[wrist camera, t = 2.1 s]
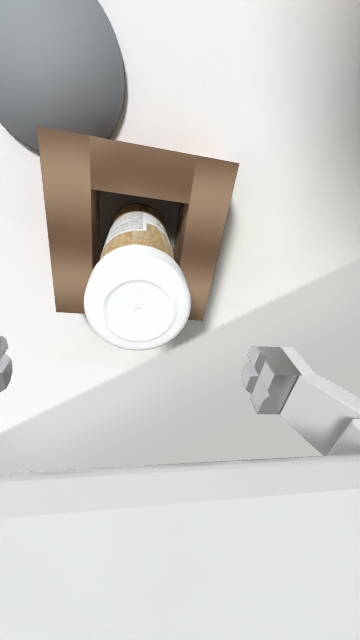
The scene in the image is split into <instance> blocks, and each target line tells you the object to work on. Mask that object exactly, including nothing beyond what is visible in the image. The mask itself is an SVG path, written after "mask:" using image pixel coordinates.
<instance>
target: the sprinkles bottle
mask: <svg viewBox="0 0 360 640" xmlns="http://www.w3.org/2000/svg"><path fill="white" fill-rule="evenodd" d="M84 310H85V315H86V317H87V320H88V322H89V324H90V326H91V327H92V328H93V330H94V331H95V332H96V333H97V334H98V335H99V336H100V337H101V338H102V339H104V340H105V341H106V342H108V343H110V344H112V345H114V346H116V347H119V348H123V349H127V350H148V349H153V348H156V347H159V346H162V345H164V344H166V343H168V342H169V341H171V340H172V339H173V338H175V337H176V336H177V335H178V334H179V333H180V332H181V330H182V329H183V328H184V326H185V324H186V322H187V320H188V318H189V315H190V310H191V297H190V292H189V289H188V286H187V282H186V280H185V277H184V275H183V272H182V270H181V269H180V267H179V266H178V264H177V263H176V262H175V260H174V255H173V251H172V248H171V245H170V242H169V239H168V236H167V233H166V230H165V225H164V222H163V220H162V218H161V217H160V215H159V214H158V213H157V212H156V211H155V210H154V209H152V208H151V207H149V206H146V205H143V204H130V205H128V206H125V207H123V208H122V209H120V210H119V211H118V213H117V214H116V215H115V217H114V219H113V222H112V226H111V229H110V231H109V234H108V237H107V239H106V242H105V245H104V248H103V250H102V253H101V257H100V261H99V262H98V263H97V264H96V266H95V267H94V269H93V271H92V273H91V276H90V278H89V281H88V284H87V287H86V291H85V295H84Z"/></svg>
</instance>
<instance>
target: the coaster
mask: <svg viewBox="0 0 360 640" xmlns="http://www.w3.org/2000/svg"><path fill="white" fill-rule="evenodd" d="M124 92H125V76H124V68H123V61H122V56H121V52H120V48H119V44H118V41H117V38H116V35H115V33H114V30H113V28H112V26H111V23H110V21H109V19H108V17H107V15H106V14H105V12H104V10H103V8H102V7H101V5H100V4H99V2H98V1H97V0H0V123H1V124H2V125H3V126H4V127H5V128H6V129H7V130H8V131H9V132H10V133H11V134H12V135H14V136H15V137H16V138H17V139H19V140H20V141H22V142H23V143H25V144H26V145H28V146H29V147H31V148H33V149H35V150H37V151H39V143H38V134H37V126H41V127H46V128H51V129H57V130H62V131H67V132H73V133H78V134H84V135H89V136H94V137H100V138H105V139H107V138H108V137H109V136H110V135H111V133H112V132H113V130H114V129H115V127H116V124H117V122H118V120H119V117H120V114H121V111H122V106H123V101H124Z"/></svg>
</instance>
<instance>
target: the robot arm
mask: <svg viewBox="0 0 360 640" xmlns="http://www.w3.org/2000/svg"><path fill="white" fill-rule="evenodd" d="M7 349H8V344H7V340H6V338H4V337H3V336H0V392H1V391H3V390H5V389H6V388H7V386H8V384H9V382H10V379H11V375H12V362H11V358H9V357H8V356H7V355H6V354H5V352H6V350H7ZM248 357H249V359H250V360H249V361H248V362H247V363H246V364H245V365H244V367H243V371H242V380H243V385H244V387H245V389H246V390H247V391H248V392H250V393H251V394H252V395H251V398H250V400H251V402H252V404H253V406H254V408H255V410H256V412H257V414H280V416H281V417H282V418H283V419H284V420H285V421H286V422H287V423H288V424H289V425H291V426H292V427H293V428H294V429H295V430H296V431H297V432H298V433H299V434H300V435H302V436H303V437H304V438H305V439H306V440H307V441H308V442H309V443H310V444H311V445H312V446H313V447H315V448H316V449H317V450H318V451H319V452H320V453H321V454H322V455H323V456H314V457H295V458H275V459H257V460H239V461H220V462H201V463H182V464H164V465H144V466H126V467H105V468H86V469H69V470H68V469H67V470H48V471H29V472H13V473H12V472H10V473H0V640H360V398H358V397H357V396H355V395H353V394H351V393H350V392H348V391H346V390H344V389H342V388H341V387H339V386H337V385H335V384H334V383H332V382H330V381H328V380H327V379H325V378H323V377H321V376H316V374H315V373H314V372H313V371H312V370H311V368H310V367H309V366H308V365H307V364H306V363H305V361H304V360H303V359H302V358H301V356H300V355H299V354H298V353H297V352H296V350H295V349H294V348H292V347H260V346H252V347H251V349H250V350H249V353H248Z"/></svg>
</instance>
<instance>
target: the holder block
mask: <svg viewBox="0 0 360 640" xmlns="http://www.w3.org/2000/svg"><path fill="white" fill-rule="evenodd" d="M37 134H38V143H39V153H40V162H41V172H42V181H43V191H44V200H45V210H46V219H47V229H48V238H49V248H50V257H51V267H52V276H53V286H54V295H55V304H56V312H65V313H82V314H85V310H84V295H85V291H86V287H87V284H88V281H89V278H90V276H91V273H92V271H93V269H94V267H95V266H96V264H97V263H98V262H99V190H100V191H106V192H113V193H120V194H127V195H133V196H140V197H147V198H154V199H161V200H167V201H174V202H180V208H179V215H178V222H177V229H176V236H175V243H174V250H173V255H174V260H175V262H176V263H177V264H178V266H179V267H180V269H181V270H182V272H183V275H184V277H185V280H186V282H187V286H188V289H189V292H190V297H191V310H190V315H189V318H188V320H202V321H203V317H204V313H205V308H206V304H207V300H208V295H209V291H210V287H211V282H212V278H213V274H214V270H215V265H216V261H217V257H218V252H219V248H220V244H221V240H222V235H223V231H224V227H225V222H226V218H227V214H228V210H229V205H230V201H231V197H232V192H233V188H234V184H235V179H236V175H237V171H238V167H239V163H235V162H229V161H224V160H218V159H213V158H208V157H202V156H197V155H191V154H186V153H181V152H175V151H170V150H165V149H159V148H154V147H148V146H143V145H138V144H132V143H127V142H121V141H116V140H111V139H105V138H100V137H94V136H89V135H84V134H78V133H73V132H67V131H62V130H57V129H51V128H46V127H41V126H37Z"/></svg>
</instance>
